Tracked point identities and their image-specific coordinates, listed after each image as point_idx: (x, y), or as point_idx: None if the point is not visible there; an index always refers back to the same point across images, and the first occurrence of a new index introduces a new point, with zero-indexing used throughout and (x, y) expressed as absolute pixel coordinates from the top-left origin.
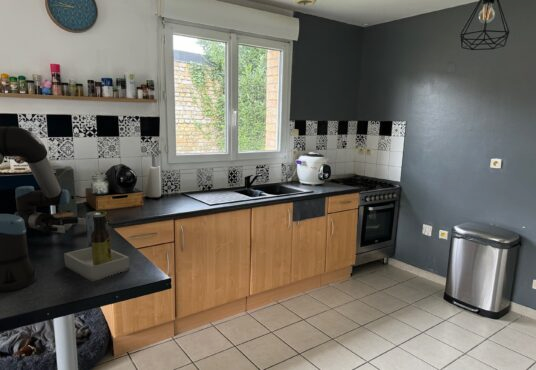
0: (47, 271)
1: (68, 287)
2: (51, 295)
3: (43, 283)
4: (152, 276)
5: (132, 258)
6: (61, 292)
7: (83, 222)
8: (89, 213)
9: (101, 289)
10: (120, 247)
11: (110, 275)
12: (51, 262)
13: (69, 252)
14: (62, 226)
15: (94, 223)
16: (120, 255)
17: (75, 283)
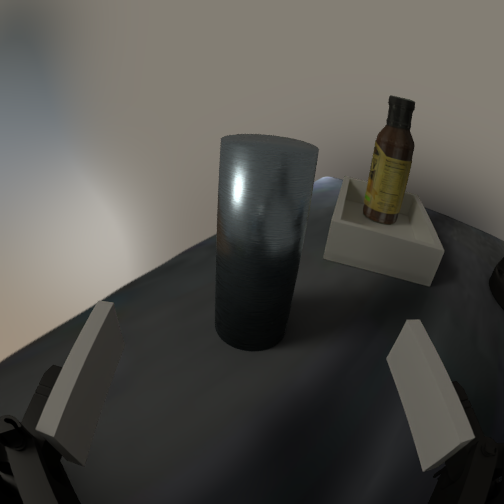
0: (469, 295)
1: (445, 233)
2: (467, 236)
3: (477, 264)
4: (333, 183)
5: None
6: (455, 232)
7: (99, 384)
8: (276, 147)
9: None
10: None
11: None
12: (453, 334)
13: (430, 245)
14: (419, 333)
15: (411, 117)
16: (348, 183)
17: None
